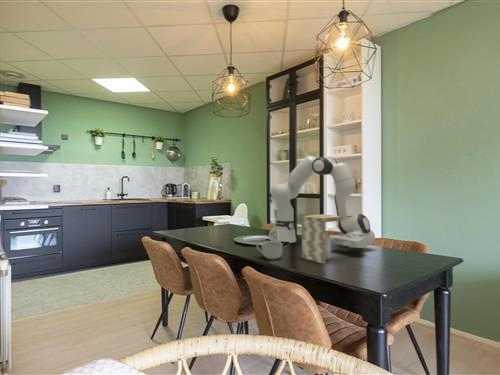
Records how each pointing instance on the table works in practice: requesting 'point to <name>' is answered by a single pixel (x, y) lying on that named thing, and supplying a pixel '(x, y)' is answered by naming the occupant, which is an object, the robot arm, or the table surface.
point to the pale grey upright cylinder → (327, 247)
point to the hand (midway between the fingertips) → (335, 242)
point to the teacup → (271, 249)
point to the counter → (315, 236)
